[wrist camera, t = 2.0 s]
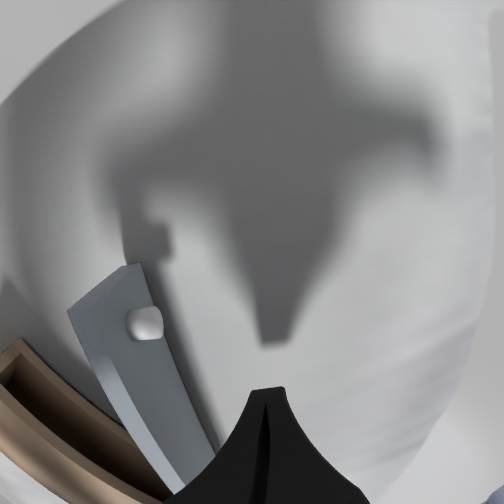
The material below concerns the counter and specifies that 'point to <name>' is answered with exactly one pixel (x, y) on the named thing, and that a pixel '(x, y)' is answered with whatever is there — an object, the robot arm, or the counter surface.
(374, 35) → the counter surface
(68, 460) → the cabinet
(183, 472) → the door
